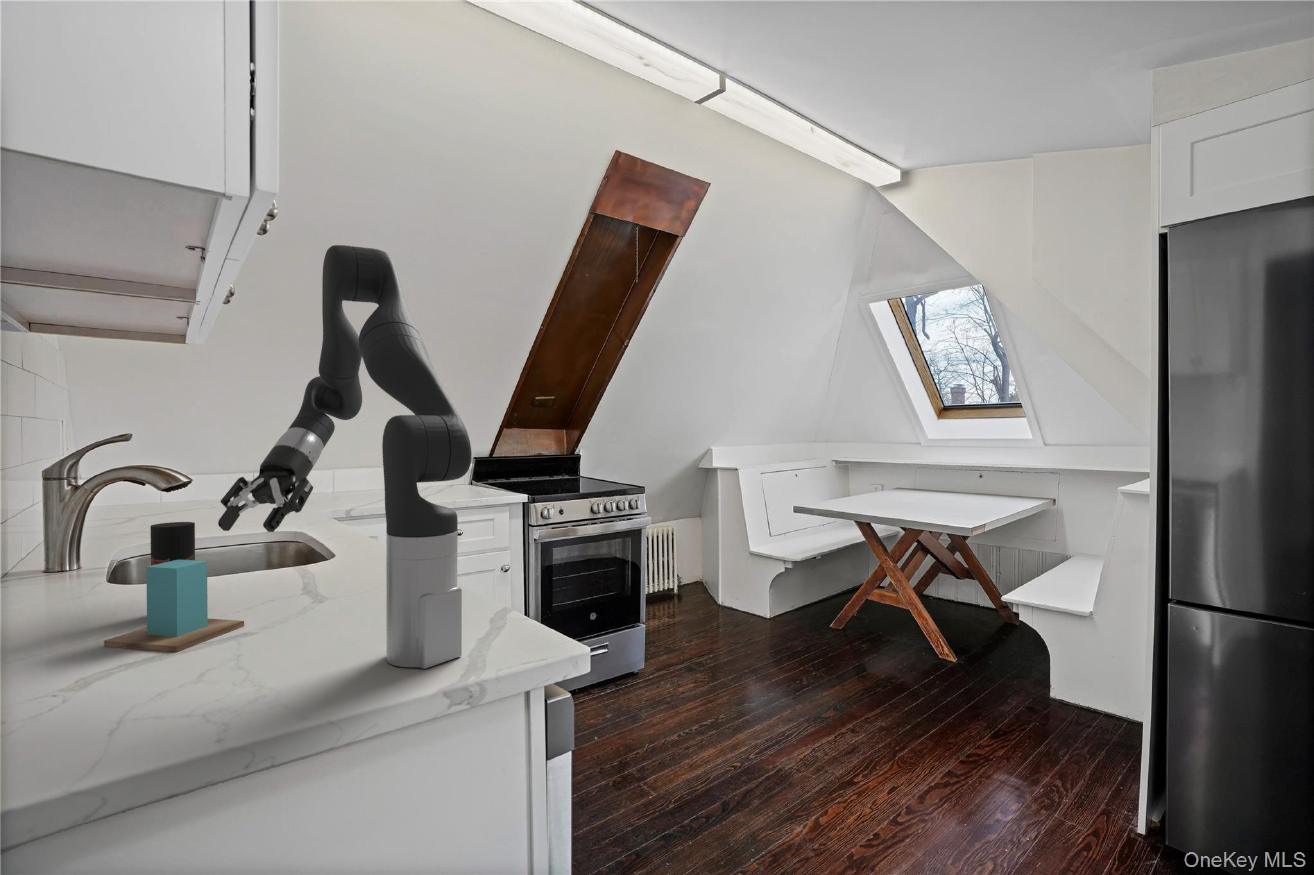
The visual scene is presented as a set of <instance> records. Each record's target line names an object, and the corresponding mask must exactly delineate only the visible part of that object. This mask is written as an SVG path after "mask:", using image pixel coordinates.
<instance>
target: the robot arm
mask: <svg viewBox="0 0 1314 875" xmlns="http://www.w3.org/2000/svg"><path fill="white" fill-rule="evenodd" d="M322 263H323V265H322V276H321V277H322V280H321V281H322V283H321V284H322V285H321V286H322V294H321V295H322V296H321V298H322V301H321V304H322V305H321V309H322V310H321V311H322V313H321V314H322V341H321V342H322V344H321V352H320V357H319V363H318V375H319V376H315V377H313V378H312V379H310V380H309V382H307V385H306V388H305V390H304V393H303V394H304V395H303V400H302V403H301V406H300V408H299V411H298V413H297V415H296V416H295V418H294V420H293V421H292V423H291V424H290V425H289V427H288V428H287V430H286V431H285V432H284V433H283V434H282V435H280V437H279V438H278V440H277V441H276V442H275V444H274V445H273V447H272V448H271V449H270V451H269V452H268V454H267V455H266V456H265V458H264V460H263V461H262V462H261V464H260V465H259V471H258V472H259V473H258V475H257V476H256V477H255V478H254V479H253V480H247V479H246V478H245V477H244V476H241V477H238V478H237V480H236V481H235V482H234V484H233V485H231V487H230V488H229V490H228V491H227V492H226V493H225V495H224V496H222V498H221V500H220V503H221V505H223V506H224V508H225V511H224V512H223V514H222V515H221V516H220V518H219V519H218V521H217V526H218V527H219V528H220V529H221V530H222V531H224V532H229V531H230V530H231V529H232V527H233V526H234V525H235V523H236V522H237V521H238V518H239V517H240V516H241V514H242V513H244V512H245V511H246V510H248V509H254V508H256V507H257V506H259V505H264V504H269V505H276V507H273V508H272V510H271V511H270V513H269V514H268V516H267V517H266V518H265V520H264V521H263V524H262V527H263V528H264V529H265V530H266V531H267V532H268V533H274V532H275V531H276V530H277V529H278V528H279V527H280V526H281V524H282V522H283V520H284V519H285V518H286V516H288V515H290V514H291V513H292V512H293V513H301V512H302V510H303V508H304V506H305V504H306V502H307V501H308V499H309V497H310V495H311V493H312V492H313V490H314V486H313V485H312V483H311V482H310V480H308V478H307V477H308V476H309V474H310V473H311V472H312V470H313V468H314V467H315V465H316V463H317V462H318V460H319V459H320V457H321V454H322V451H323V450H324V448H325V447H326V446H327V444H328V442H329V441H330V439H331V437H332V436H333V434H334V432H335V430H336V426H335V423H334V421H333V419H332V418H331V417H333V418H335V419H338V420H342V421H349V420H352V419H353V418H356V416H357V415H358V414H359V413H360V411H361V408H362V405H363V390H362V386H361V381H360V375H359V372H360V367H361V364H362V363H361V362H362V360H363V363H364V365H365V369H366V371H367V373H368V376H369V377H370V378H371V380H372V381H373V383H375V385H377V386H378V387H379V388H380V389H381V390H382V391H383V392H384V393H386V394H387V395H389V396H390V397H391V398H393V399H394V400H396V401H397V402H398V403H400V404H401V405H402V406H404V407H406V409H408V410H409V411H411V412H412V413H413V414H408V415H407V414H406V415H405V414H398V415H395V416H394V415H393V416H392V417H391V418H389V420H388V421H387V422H386V424H385V426H384V430H383V434H382V447H381V448H382V469H383V485H384V513H385V521H386V528H385V530H386V539H385V540H386V543H385V544H386V559H385V560H386V563H385V564H386V567H385V568H386V569H385V570H386V574H385V575H386V577H385V578H386V579H385V580H386V581H385V582H386V583H385V585H386V587H385V589H386V590H385V592H386V595H385V596H386V598H385V599H386V603H385V604H386V609H385V610H386V621H385V623H386V626H385V627H386V630H385V631H386V661H387V663H388V664H390V665H392V666H396V667H400V668H401V667H403V668H420V669H423V670H424V669H429V668H430V667H434V666H437V665H440V664H442V663H445V662H448V661H450V660H453V659H456V658H458V657H462V655H463V653H462V650H463V649H462V647H463V646H462V641H463V636H462V635H463V634H462V632H463V631H462V630H463V629H462V628H463V627H462V626H463V623H462V621H463V620H462V618H463V614H462V612H463V610H462V608H463V590H462V588H461V587H459V586H458V533H459V532H458V530H459V529H458V528H459V527H458V524H459V523H458V522H459V520H458V519H459V518H458V514H457V512H456V511H455V510H454V509H453V508H451V507H447V506H443V505H439V504H436V503H433V502H431V501H429V500H427V499H426V498H424V497H422V496H421V495H420V492H419V489H418V483H420V484H421V483H437V482H448V481H456V480H458V479H461V478H463V477H464V476H465V475H466V474H467V473H468V472H469V470H470V467H471V465H472V464H471V463H472V445H471V440H470V436H469V434H468V431H467V428H466V425H465V424H464V422H463V419H462V418H461V416H460V414H459V413H458V410H456V407H455V406H454V404H453V403H452V401H451V399H450V397H449V396H448V395H447V392H446V391H445V389H444V387H443V385H442V384H441V382H440V380H439V378H438V376H437V373H436V370H435V369H434V366H433V364H432V362H431V360H430V356H429V354H428V351H427V348H426V346H425V344H424V340H423V338H422V336H421V334H420V332H419V330H418V328H417V327H416V324H415V322H414V319H413V317H412V315H411V313H410V310H409V308H408V305H407V302H406V299H405V296H404V293H403V290H402V286H401V282H400V280H399V279H400V278H399V276H398V272H397V269H396V266H395V263H394V261H393V259H392V257H391V256H390V255H389V253H387V251H383V250H382V249H378V248H372V247H371V248H369V247H361V246H355V245H354V246H353V245H352V246H351V245H341V244H336V245H331V246H330V247H328V249H327V250H326V252H325V255H324V259H323V262H322ZM343 301H344V302H355V303H357V302H359V303H372V304H377V305H378V306H377V307H376V308H375V309H374V310H373V312H372V313H371V314H370V316H369V317H368V318H367V319H366V321H365V322H364V324H363V325H362V327H361V329H360V331H359V334H358V332H357V330H356V329H355V327H354V326H353V325H352V323H351V321H349V318H348V317H347V315H346V313H345V310H344V308H343ZM250 494H251V496H252V498H253V499H252V500H251V499H250V498H249V497H248V496H249V495H250ZM242 502H244V503H243V504H242V505H240V504H241V503H242Z"/></svg>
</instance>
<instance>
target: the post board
mask: <svg viewBox="0 0 1314 875" xmlns="http://www.w3.org/2000/svg"><path fill="white" fill-rule="evenodd" d="M244 626H245V620H237V619H234V620H233V619H222V618H208V626H206V627H204V628H201V629H198V630H195V631H192V632H190V633H187V634H184V635H181V636H178V637H173V636H160V635H147V626H145V627H142V628H139V629H136V630H133V631H130V632H127V633H122V634H120V635H118V636H115V637H111V638H108V639H106V640H103V647H105V648H106V647H107V648H108V647H109V648H121V649H132V650H147V651H148V650H149V651H159V652H175V653H177V652H180V651H183V650H186V649H188V648H190V647H193V646H196V645H199V644H201V643H204V642H206V641H208V640H209V641H210V640H211V639H214V638H216V637H219V636H222V635H224V634H228V633H230V632H231V631H234V630H238V629H241V628H242V627H244Z"/></svg>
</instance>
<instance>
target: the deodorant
mask: <svg viewBox="0 0 1314 875" xmlns="http://www.w3.org/2000/svg"><path fill="white" fill-rule="evenodd" d="M149 531H150V566H152V565H156V564H161V563H165V562H170V561H174V560H196V523H195V522H193V521H174V522H162V523H161V522H160V523H155V524H151V525H150V529H149Z"/></svg>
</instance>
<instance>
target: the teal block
mask: <svg viewBox="0 0 1314 875" xmlns="http://www.w3.org/2000/svg"><path fill="white" fill-rule="evenodd" d="M145 570H146V574H145V575H146V627H147V635H160V636H173V637H178V636H181V635H184V634H187V633H190V632H192V631H195V630H198V629H201V628H204V627H206V626H208V619H209V618H208V609H209V608H208V560H196V559H195V560H174V561H170V562H165V563H161V564H156V565H152V566H151V565H148V566H146V569H145Z"/></svg>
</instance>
